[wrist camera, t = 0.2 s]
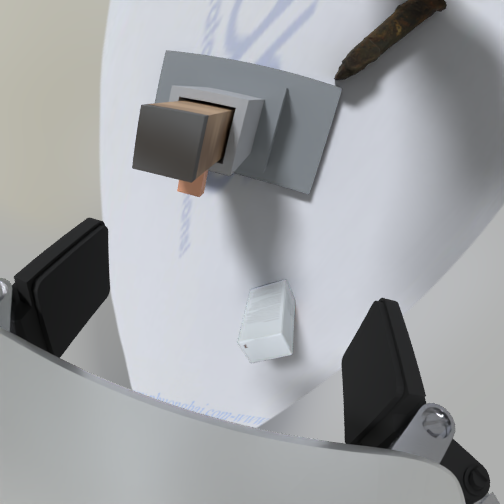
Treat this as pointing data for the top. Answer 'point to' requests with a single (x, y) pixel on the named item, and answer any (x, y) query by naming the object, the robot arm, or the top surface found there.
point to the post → (181, 138)
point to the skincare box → (268, 323)
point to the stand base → (256, 117)
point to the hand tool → (388, 34)
